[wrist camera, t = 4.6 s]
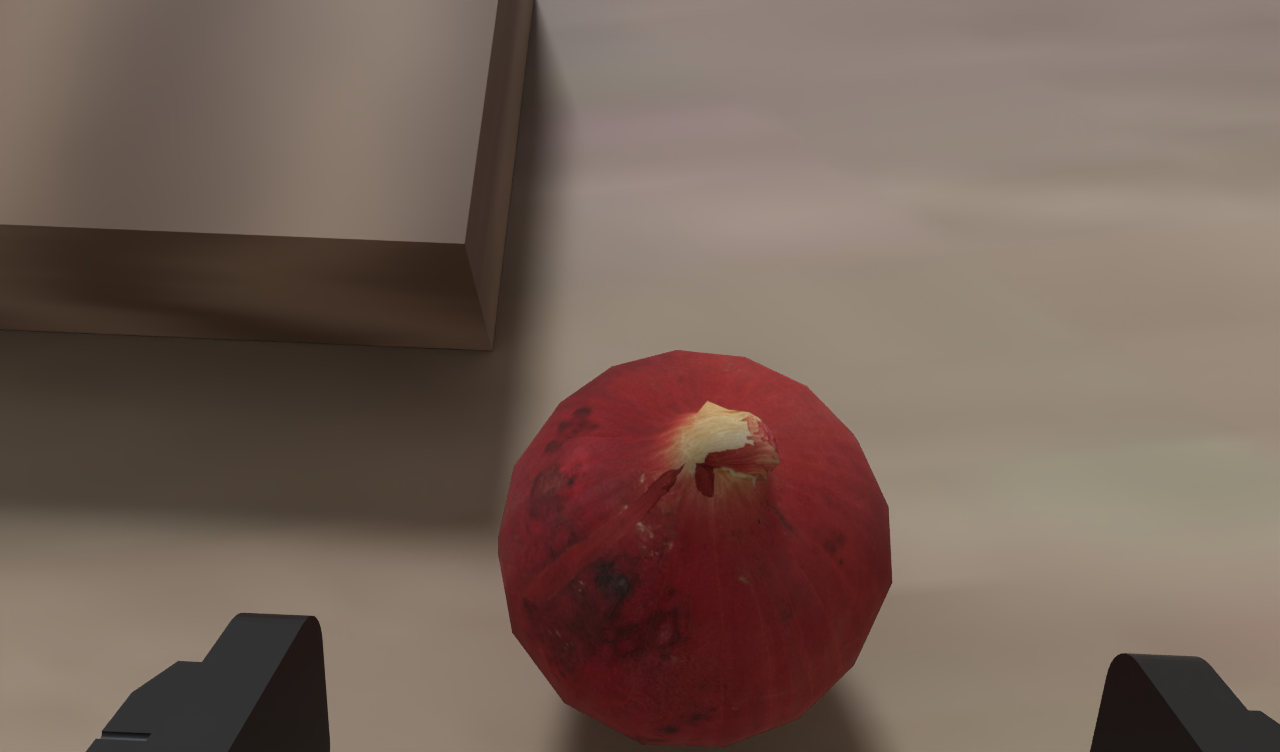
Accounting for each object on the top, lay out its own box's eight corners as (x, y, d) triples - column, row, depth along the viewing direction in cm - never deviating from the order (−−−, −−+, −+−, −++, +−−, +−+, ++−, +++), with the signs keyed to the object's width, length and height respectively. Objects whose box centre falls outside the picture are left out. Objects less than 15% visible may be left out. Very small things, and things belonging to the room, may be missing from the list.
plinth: (534, -11, 26) (519, -156, 22) (492, 350, 21) (464, 243, 18) (51, -30, 26) (-43, -177, 22) (-89, 325, 21) (-233, 214, 18)
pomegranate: (660, 845, 17) (682, 823, 10) (460, 582, 19) (359, 407, 12) (904, 622, 19) (1072, 468, 12) (697, 400, 21) (732, 150, 14)
